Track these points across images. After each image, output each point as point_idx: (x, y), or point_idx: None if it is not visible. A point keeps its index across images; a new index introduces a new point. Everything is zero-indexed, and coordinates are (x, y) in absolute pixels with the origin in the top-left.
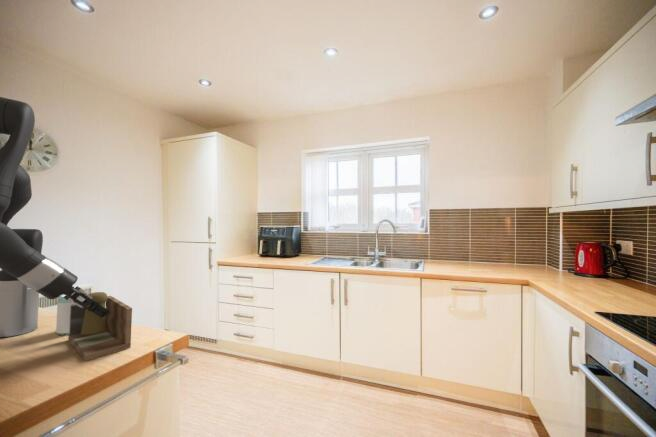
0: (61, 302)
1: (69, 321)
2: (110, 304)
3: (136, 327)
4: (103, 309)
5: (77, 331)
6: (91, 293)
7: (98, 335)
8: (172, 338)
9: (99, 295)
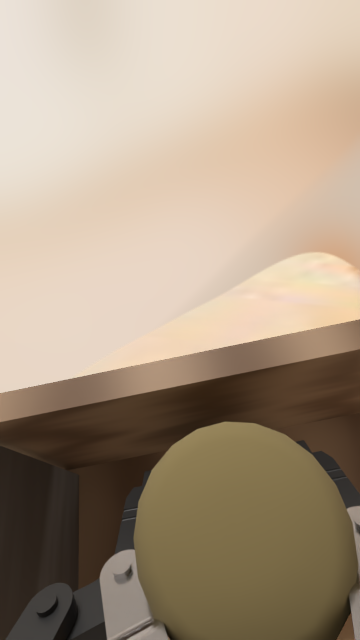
0: None
1: None
2: (91, 419)
3: (121, 359)
4: (344, 475)
5: None
6: (239, 596)
7: None
8: (332, 273)
9: (332, 497)
